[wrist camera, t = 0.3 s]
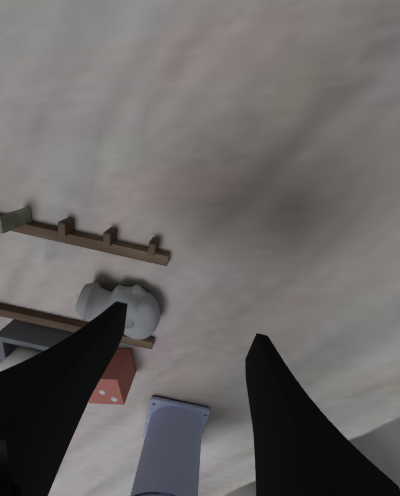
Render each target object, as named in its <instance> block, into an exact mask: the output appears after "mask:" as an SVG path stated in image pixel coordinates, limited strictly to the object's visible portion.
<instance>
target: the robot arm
mask: <svg viewBox="0 0 400 496" xmlns="http://www.w3.org/2000/svg"><path fill="white" fill-rule="evenodd" d="M127 305H128V304H127V303H122V302H118V301H116V302H114V303H113V304H112V305H111V306H109V307H108V308H107V309H106V310H105V311H103V312H102V313H101V314H99V315H98V316H97V317H96V318H94V319H93V320H92V321H90V322H89V323H87V324H86V325H85V326H83V327H82V328H80V329H79V330H77V331H76V332H74V333H73V334H71V335H70V336H68V337H67V338H65V339H64V340H62V341H60V342H59V343H57V344H55V345H53V346H52V347H50V348H48V349H46V350H45V351H43V352H41V353H39V354H37V355H35V356H33V357H31V358H29V359H27V360H25V361H23V362H21V363H19V364H16V365H14V366H12V367H9V368H7V369H5V370H3V371H0V496H48V494H49V491H50V489H51V486H52V484H53V482H54V479H55V477H56V474H57V472H58V469H59V467H60V465H61V462H62V460H63V458H64V455H65V453H66V451H67V448H68V446H69V444H70V441H71V439H72V437H73V435H74V432H75V430H76V428H77V426H78V423H79V421H80V419H81V417H82V414H83V412H84V410H85V408H86V406H87V403H88V401H89V399H90V397H91V395H92V393H93V391H94V390H95V388H96V386H97V384H98V382H99V381H100V379H101V377H102V375H103V374H104V372H105V370H106V368H107V366H108V365H109V363H110V361H111V359H112V358H113V356H114V354H115V352H116V350H117V348H118V346H119V344H120V341H121V339H122V336H123V334H124V331H125V322H126V314H127ZM245 362H246V383H247V390H248V397H249V404H250V411H251V418H252V424H253V433H254V449H255V469H256V496H400V489H399V487H398V486H397V485H396V484H395V483H394V482H393V481H392V480H391V479H390V478H388V477H387V476H386V475H385V474H384V473H383V472H382V471H380V470H379V469H378V468H377V467H376V466H375V465H374V464H372V463H371V462H370V461H369V460H368V459H367V458H366V457H365V456H364V455H363V454H362V453H361V452H360V451H359V450H358V449H356V448H355V447H354V446H353V445H352V444H351V443H350V442H349V441H348V440H347V439H346V438H345V437H344V436H343V435H342V434H341V433H340V432H339V430H338V429H337V428H336V427H335V426H334V425H333V424H332V423H331V422H330V421H329V420H328V419H327V417H326V416H325V415H324V414H323V413H322V412H321V411H320V409H319V408H318V407H317V406H316V405H315V403H314V402H313V401H312V400H311V399H310V397H309V396H308V395H307V394H306V392H305V391H304V390H303V388H302V387H301V386H300V384H299V383H298V381H297V380H296V379H295V377H294V376H293V374H292V373H291V372H290V370H289V369H288V367H287V366H286V364H285V363H284V361H283V359H282V358H281V356H280V355H279V353H278V352H277V350H276V348H275V347H274V345H273V344H272V342H271V340H270V339H269V337H268V336H266V335H262V334H258V333H257V334H256V336H255V338H254V341H253V343H252V345H251V348H250V350H249V352H248V355H247V357H246V359H245ZM209 415H210V409H209V408H206V407H201V406H197V405H192V404H187V403H183V402H178V401H173V400H169V399H164V398H160V397H152V398H151V401H150V406H149V411H148V416H147V421H146V426H145V431H144V436H143V437H144V438H145V440H144V444H143V448H142V452H141V456H140V460H139V464H138V468H137V472H136V476H135V480H134V484H133V488H132V492H131V495H130V496H198V484H199V467H200V450H201V435H202V433H203V430H204V428H205V425H206V423H207V420H208V417H209Z"/></svg>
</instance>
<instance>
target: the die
mask: <svg viewBox="0 0 400 496" xmlns="http://www.w3.org/2000/svg"><path fill="white" fill-rule="evenodd" d="M135 373H136V370H135V366H134V361H133V357H132V352H131V348H117V350H116V352H115V354H114V356H113V358H112V359H111V361H110V363H109V365H108V366H107V368H106V370H105V372H104V374H103V375H102V377H101V379H100V381H99V382H98V384H97V386H96V388H95V390H94V391H93V393H92V395H91V397H90V399H89V403H101V404H122V405H124V403H125V401H126V398H127V395H128V392H129V390H130V387H131V384H132V381H133V379H134V376H135Z"/></svg>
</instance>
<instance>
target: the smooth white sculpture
mask: <svg viewBox="0 0 400 496" xmlns="http://www.w3.org/2000/svg"><path fill="white" fill-rule="evenodd" d="M116 301H118V302H122V303H127V304H128V305H127V314H126V322H125V331H124V334H125V335H126V336H128V337H130V338H132V339H137V340H141V339H145V338H147V337H149V336H150V335H151V334H152V333H153V332H154V331H155V329H156V328H157V326H158V323H159V320H160V309H159V305H158V303H157V301H156V299H155V298H154V296H153V295H152V294H150V293H147V292H146V291H145V290H144V289H143V288H142V287H141V286H140V285H134V286H133V287H132V286H128V287H127V286H122V285H118V286H117V287H116V288H115V289H114V290H113V292H110V291H108V290H105V289H103V288H101V286H100V285H99V283H98V282H94V283H89V284H86V285H85V286H84V288H83V289H82V291H81V293H80V295H79V298H78V300H77V304H76V311H77V312H78V313H79V315H80V316H81V317H82V318H83V319H84V320H86V319H94V318H96V317H97V316H98V315H99V314H101V313H102V312H103V311H105V310H106V309H107V308H108V307H109V306H111V305H112V304H113V303H114V302H116Z"/></svg>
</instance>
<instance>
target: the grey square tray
mask: <svg viewBox="0 0 400 496" xmlns="http://www.w3.org/2000/svg"><path fill="white" fill-rule="evenodd" d="M71 334H73V332H69V331H64V330H60V329H55V328H51V327H46V326H41V325H37V324H32V323H28V322H23V321H19V320H13V321H11V322H10V323H9V324H8V325H7V326H5V327H4V328H3V329H2V330H1V331H0V363H2V362H3V361H4V360H5V359H6V358H7V357H8V356H9V355H10V354H11V353H12V352H13V351H14V350H15V349H16V348H17V347H18V346H24V347H29V348H33V349H38V350H43V351H45V350H46V349H48V348H50V347H52V346H53V345H55V344H57V343H59V342H60V341H62V340H64V339H65V338H67V337H68V336H70V335H71Z"/></svg>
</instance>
